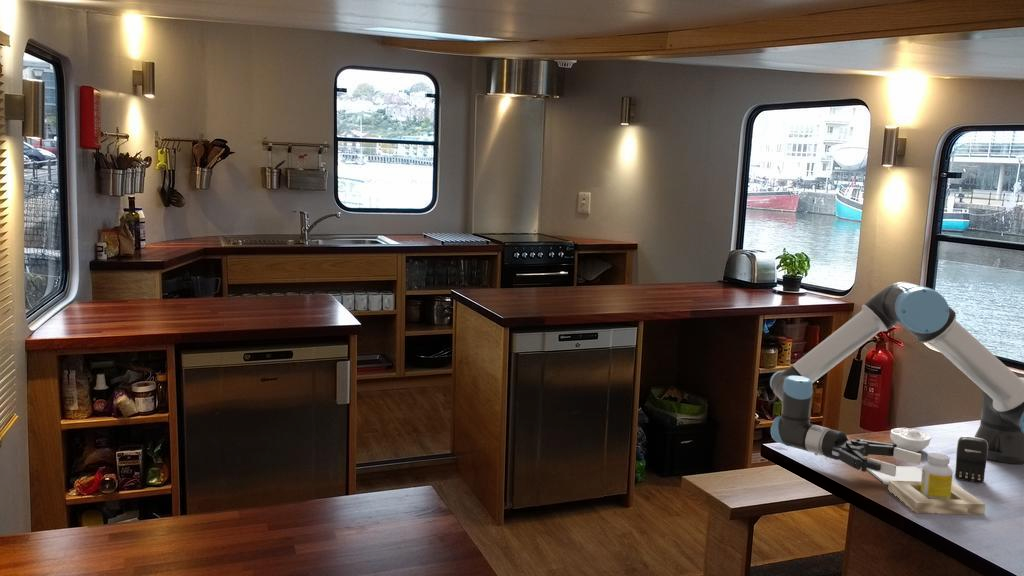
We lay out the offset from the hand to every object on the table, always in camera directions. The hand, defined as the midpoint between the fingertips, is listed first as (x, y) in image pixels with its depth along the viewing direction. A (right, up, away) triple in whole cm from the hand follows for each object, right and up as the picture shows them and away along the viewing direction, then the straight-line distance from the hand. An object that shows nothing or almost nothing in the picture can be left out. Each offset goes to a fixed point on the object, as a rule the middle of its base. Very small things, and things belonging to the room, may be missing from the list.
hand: (908, 465), depth 199 cm
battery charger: (+21, -7, +11) cm, 25 cm away
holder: (+4, -8, -4) cm, 10 cm away
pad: (+4, -6, +13) cm, 15 cm away
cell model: (+17, -4, +35) cm, 39 cm away
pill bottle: (+4, -8, -4) cm, 10 cm away
